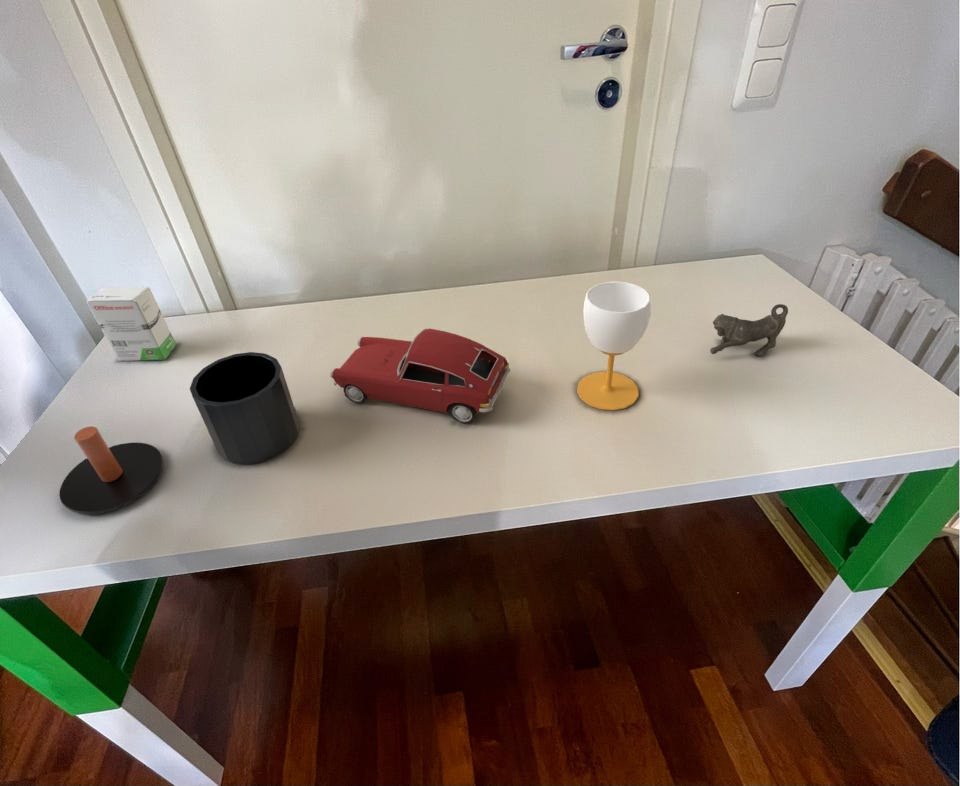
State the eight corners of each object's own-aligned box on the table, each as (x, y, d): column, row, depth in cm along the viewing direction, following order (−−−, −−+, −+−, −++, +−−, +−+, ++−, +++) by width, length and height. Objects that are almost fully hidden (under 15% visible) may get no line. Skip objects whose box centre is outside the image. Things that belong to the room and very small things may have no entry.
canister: (209, 470, 80) (181, 411, 73) (224, 415, 88) (200, 358, 82) (296, 458, 81) (275, 398, 74) (302, 405, 89) (284, 347, 83)
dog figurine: (767, 334, 98) (780, 294, 93) (785, 354, 93) (798, 313, 89) (696, 341, 97) (705, 301, 93) (710, 361, 93) (720, 321, 88)
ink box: (178, 344, 104) (151, 284, 97) (164, 361, 100) (136, 300, 93) (131, 344, 105) (101, 285, 97) (116, 361, 101) (83, 300, 93)
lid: (47, 524, 74) (9, 477, 68) (83, 455, 83) (52, 408, 78) (151, 509, 75) (122, 461, 69) (174, 442, 84) (150, 395, 79)
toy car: (365, 359, 98) (354, 306, 92) (512, 383, 91) (511, 328, 85) (332, 400, 90) (317, 346, 84) (490, 431, 83) (488, 374, 77)
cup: (573, 374, 92) (578, 281, 82) (631, 371, 92) (644, 278, 82) (581, 412, 85) (588, 316, 75) (645, 409, 85) (661, 312, 75)
